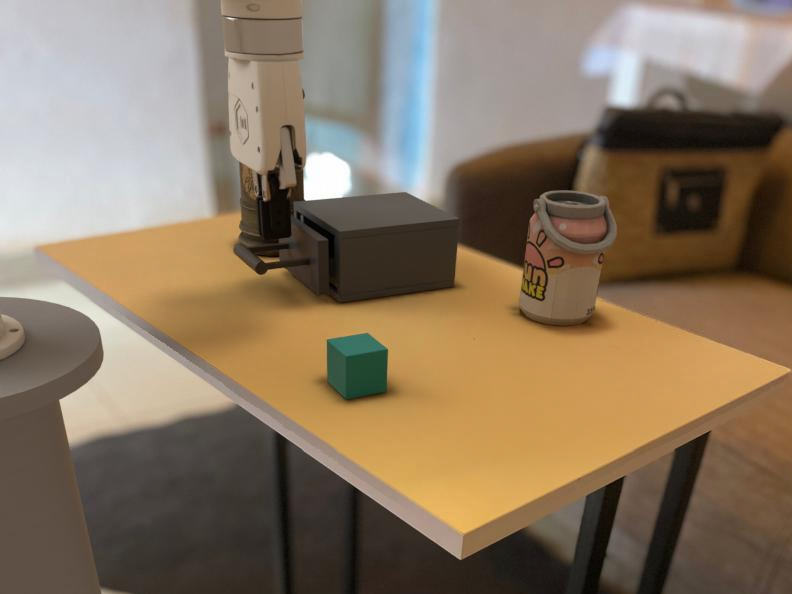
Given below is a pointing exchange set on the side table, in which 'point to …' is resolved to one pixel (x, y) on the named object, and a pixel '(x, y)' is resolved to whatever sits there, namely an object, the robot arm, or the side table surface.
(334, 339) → the block
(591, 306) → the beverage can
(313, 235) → the tray
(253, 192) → the container
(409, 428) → the side table surface
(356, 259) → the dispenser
